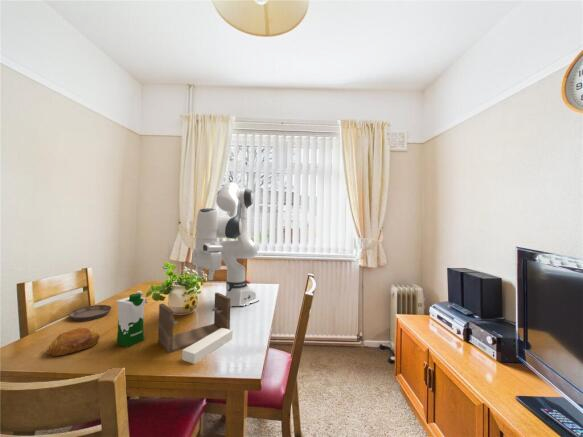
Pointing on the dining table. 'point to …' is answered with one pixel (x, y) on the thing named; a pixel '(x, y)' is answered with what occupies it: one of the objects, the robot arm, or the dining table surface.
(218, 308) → the shelf frame
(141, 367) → the dining table surface
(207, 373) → the dining table surface
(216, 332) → the shelf board
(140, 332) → the milk carton
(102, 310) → the plant saucer
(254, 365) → the dining table surface
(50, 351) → the croissant
